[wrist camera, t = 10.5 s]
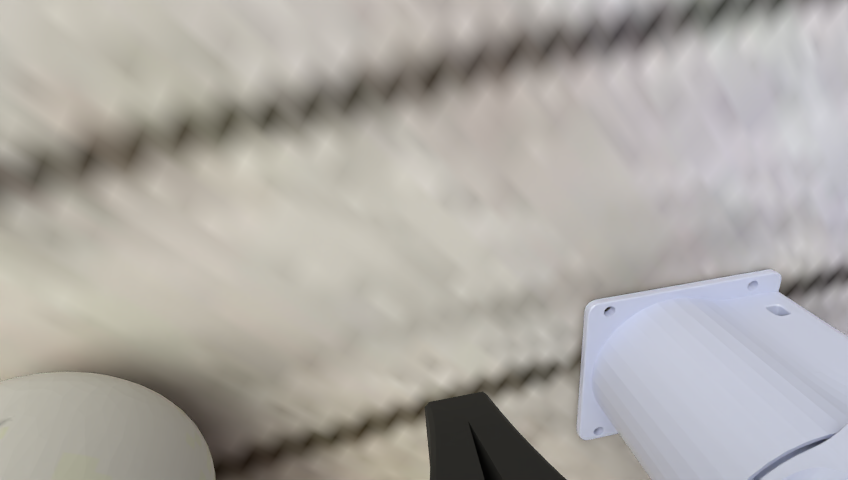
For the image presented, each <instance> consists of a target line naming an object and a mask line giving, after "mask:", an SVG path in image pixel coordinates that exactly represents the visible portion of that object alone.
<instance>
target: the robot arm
mask: <svg viewBox="0 0 848 480" xmlns="http://www.w3.org/2000/svg"><path fill="white" fill-rule="evenodd" d="M749 283H750V284H749ZM780 283H781V275H780V274H779V273H778V272H776V271H774V270H773V269H767V270H762V271H756V272H750V273H745V274H739V275H733V276H727V277H722V278H716V279H710V280H705V281H699V282H693V283H687V284H682V285H676V286H670V287H665V288H659V289H653V290H647V291H642V292H636V293H630V294H625V295H619V296H613V297H607V298H602V299H596V300H593V301H591V302H590V303H588V305H587V306H586V308H585V312H584V327H583V341H582V356H581V371H580V386H579V401H578V415H577V433H578V435H579V437H580V438H581V439H583V440H590V439H594V438H599V437H604V436H608V435H613V434H618V433H619V434H620V436H621V437H622V439H623V440H624V441H625V443H626V444H627V446H628V447H629V449H630V450H631V451H632V453H633V454H634V456H635V457H636V459H637V460H638V461H639V463H640V464H641V466H642V467H643V469H644V470H645V471H646V473H647V474H648V476H649V477H650V479H651V480H848V336H846V335H845V334H843V333H841V332H840V331H838V330H837V329H835V328H834V327H832V326H831V325H829V324H828V323H826V322H825V321H823V320H821V319H820V318H818V317H817V316H815V315H814V314H812V313H811V312H809V311H808V310H806V309H804V308H803V307H801V306H800V305H798V304H797V303H795V302H794V301H792V300H791V299H789V298H787V297H786V296H784V295H783V294H781V293H780V292H778V291H779V287H780ZM610 306H611V307H610ZM607 307H610V309H609V310H608V311H605V309H606V308H607ZM604 311H605V312H604ZM425 416H426V426H427V437H428V448H429V459H430V480H566V479H565V478H564V477H563V476H562V475H561V474H560V473H559V472H558V471H557V470H556V469H555V468H554V467H552V466H551V465H550V464H549V463H548V462H547V461H546V460H545V459H544V458H543V457H542V456H541V455H540V454H539V453H538V452H537V451H536V450H535V449H534V448H533V447H532V446H531V445H530V444H529V443H528V441H527V440H526V439H525V438H524V437H523V436H522V435H521V434H520V433H519V432H518V431H517V430H516V429H515V427H514V426H513V425H512V424H511V423H510V422H509V421H508V420H507V418H506V417H505V416H504V415H503V414H502V413H501V411H500V410H499V409H498V408H497V407H496V405H495V404H494V403H493V402H492V401H491V399H490V398H489V397H488V395H486V394H485V393H483V392H479V393H474V394H469V395H463V396H458V397H453V398H448V399H443V400H438V401H433V402H429V403H428V404H427V405H426V406H425Z"/></svg>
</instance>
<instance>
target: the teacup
mask: <svg viewBox="0 0 848 480" xmlns="http://www.w3.org/2000/svg"><path fill="white" fill-rule="evenodd" d="M0 480H215V470H214V465H213V460H212V457H211V454H210V451H209V448H208V445H207V443H206V441H205V439H204V437H203V436H202V434H201V432H200V431H199V429H198V428H197V426H196V424H195V423H194V422H193V421H192V420H191V419H190V418H189V417H188V416H187V415H186V414H185V413H184V412H183V410H181V409H180V408H179V407H177V406H176V405H175V404H174V403H172V402H171V401H170V400H168V399H166V398H165V397H163V396H162V395H160V394H159V393H157V392H155V391H153V390H151V389H148V388H146V387H144V386H142V385H139V384H137V383H134V382H131V381H128V380H124V379H121V378H117V377H113V376H109V375H103V374H97V373H88V372H65V371H62V372H48V373H37V374H31V375H26V376H20V377H15V378H11V379H8V380H4V381H0Z"/></svg>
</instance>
